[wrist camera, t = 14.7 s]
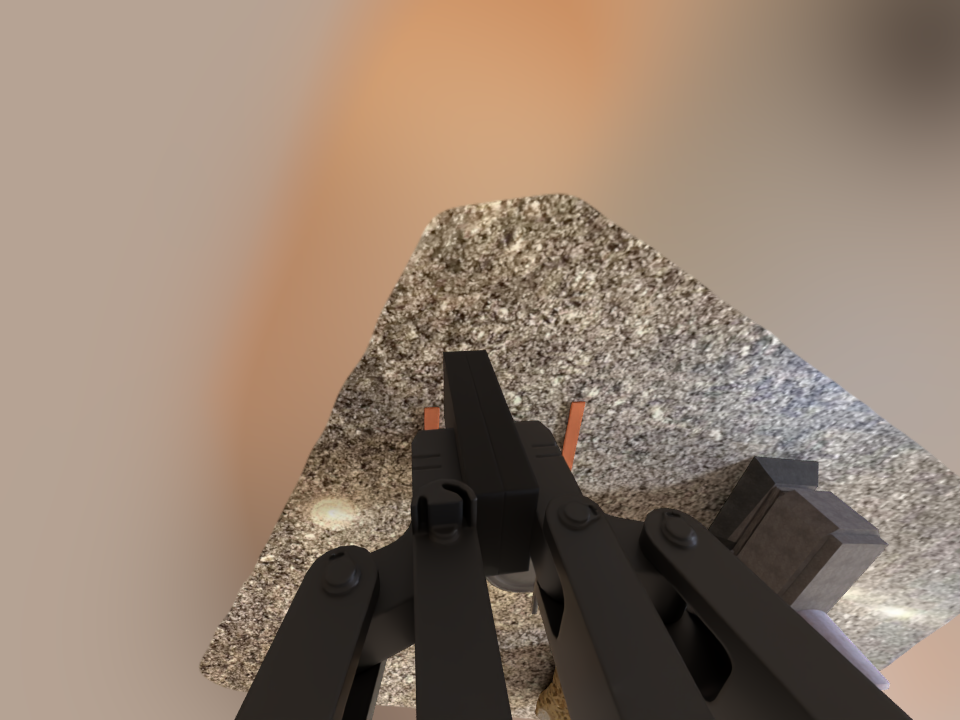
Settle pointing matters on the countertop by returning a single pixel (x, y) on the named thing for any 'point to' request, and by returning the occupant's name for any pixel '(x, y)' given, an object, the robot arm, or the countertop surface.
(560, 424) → the countertop surface
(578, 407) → the strips
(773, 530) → the machine
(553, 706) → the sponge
